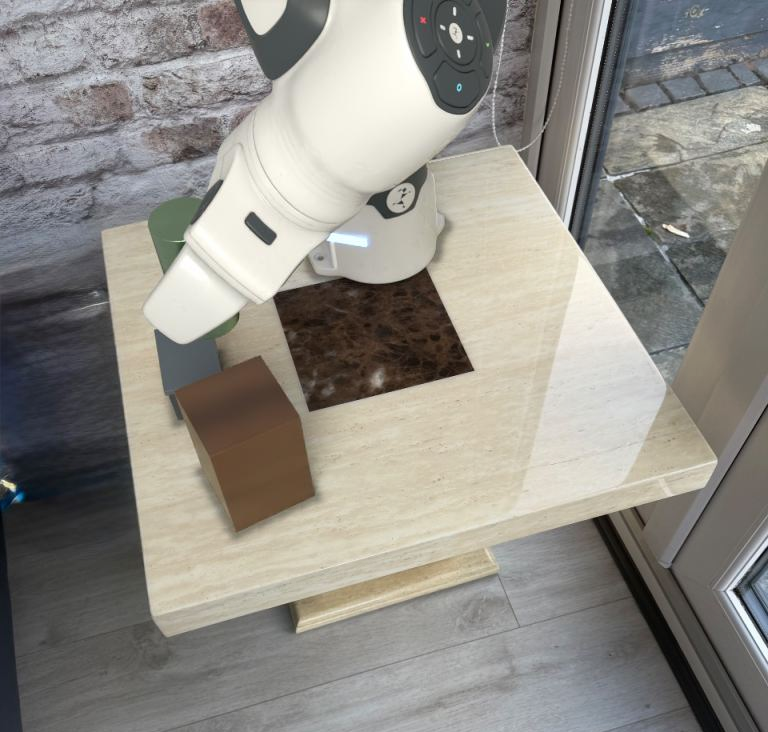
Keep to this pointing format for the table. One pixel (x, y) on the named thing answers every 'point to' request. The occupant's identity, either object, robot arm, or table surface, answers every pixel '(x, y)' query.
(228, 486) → the block
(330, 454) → the table surface
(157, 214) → the tin
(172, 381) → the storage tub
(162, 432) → the table surface
